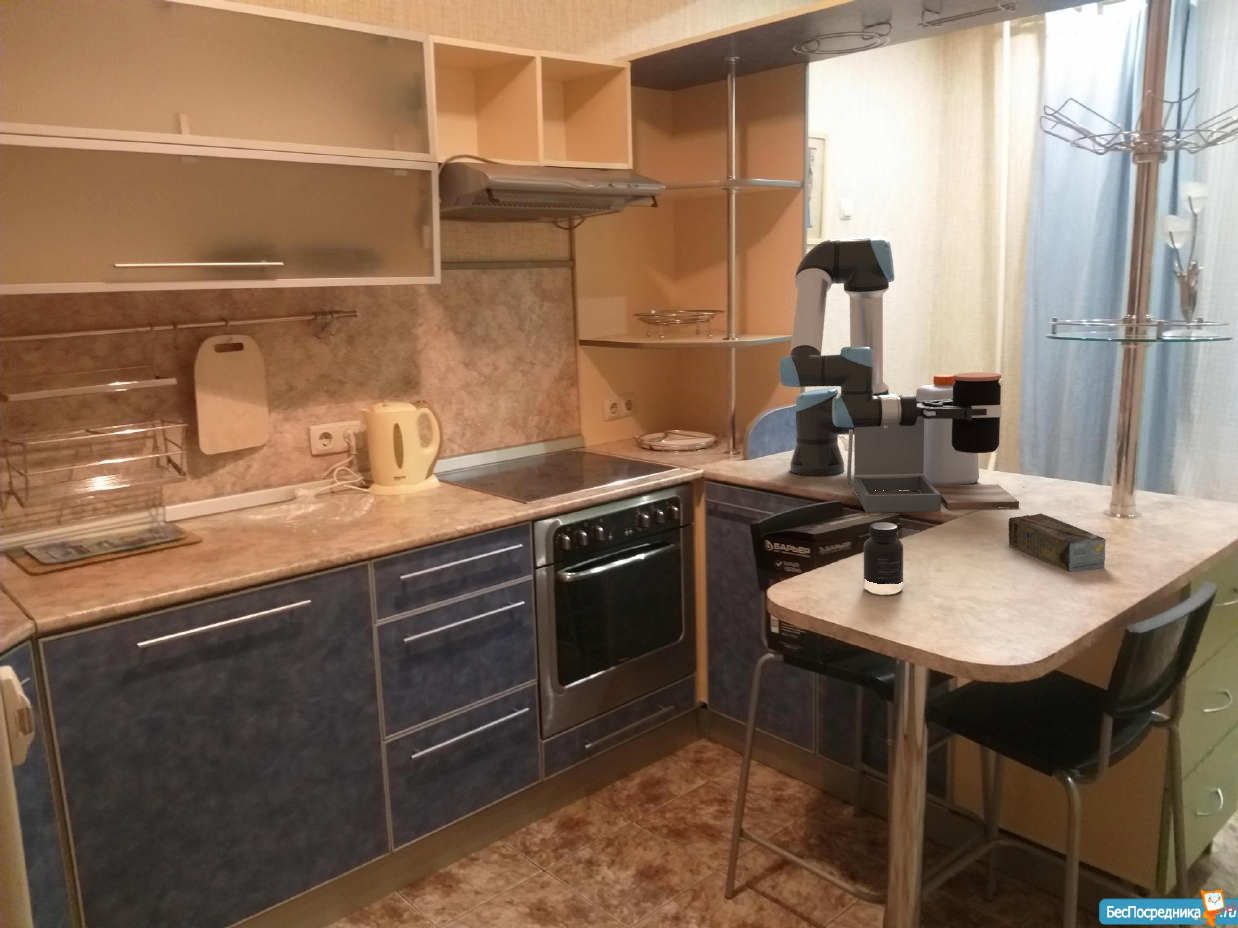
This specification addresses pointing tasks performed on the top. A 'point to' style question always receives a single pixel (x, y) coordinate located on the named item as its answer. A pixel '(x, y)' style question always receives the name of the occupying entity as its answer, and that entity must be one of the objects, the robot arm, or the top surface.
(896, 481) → the equipment case
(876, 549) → the supplement bottle
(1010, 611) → the top surface
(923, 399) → the plastic bottle
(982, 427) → the coffee jar
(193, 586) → the top surface
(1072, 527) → the beverage carton
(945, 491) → the walnut board
